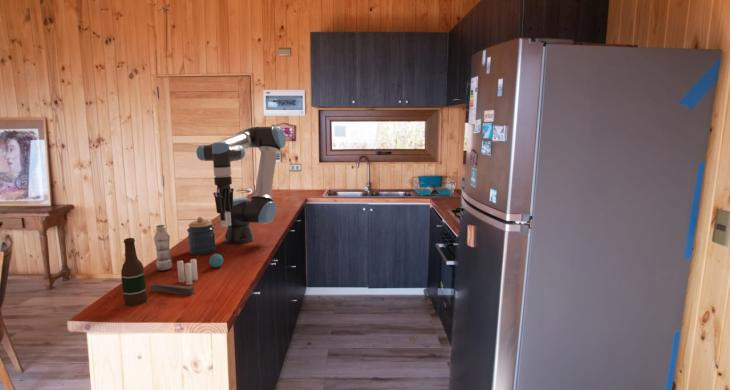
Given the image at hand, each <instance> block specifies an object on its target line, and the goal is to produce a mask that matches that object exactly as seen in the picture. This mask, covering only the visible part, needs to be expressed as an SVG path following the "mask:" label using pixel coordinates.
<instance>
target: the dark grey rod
mask: <svg viewBox="0 0 730 390" xmlns="http://www.w3.org/2000/svg"><path fill="white" fill-rule="evenodd" d="M150 292H153V293H163V294H164V293H166V294H176V295H184V296H192V295H194V294H195V287H194V286H189V285H178V284H177V285H176V284H165V283H154V282H153V283H151V284H150Z"/></svg>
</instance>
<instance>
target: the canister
mask: <svg viewBox="0 0 730 390" xmlns="http://www.w3.org/2000/svg"><path fill="white" fill-rule="evenodd" d="M196 219H197V220H194V221H191V222H190V223H188V225H187V226H188V228H187V229H186V231H187V234H188V235H187V243H188V252H189V254H191V255H195V256H196V255H207V254H211V253H213V252H215V251H216V248H217V246H216V235H215V234H216V233H215V231H214V229H215V226H214V225H213V222H212V221H210V220H208V219H203V217H200V216H199V217H197V218H196Z"/></svg>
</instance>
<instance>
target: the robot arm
mask: <svg viewBox="0 0 730 390" xmlns="http://www.w3.org/2000/svg"><path fill="white" fill-rule="evenodd" d="M286 143H287V142H286V135H285V132H284V129H282V127H279V126H253V127H249V128H246V129H243V130H241V131H238V132H236V134H235V135H233V136H230V137H227V138H225V139H222V140H219V141H216V142H212V143H210V144H207V145H206V144H202V145H198V147H197V148H196V152H195V153H196V156H197V159H198V160H200V161H202V162H203V161H204V162H213V163H212V164H213V165H212V166H213V175H214V178H213V180H214V185H215V186H217V187H216V192H213V193H212V194H213V197H214V201H215V208H216V213H217V214H219V216H220V225H221V227H220V228H226V231H225V236H224V242H225V243H227V244H228V245H229V244H232V245H239V244H240V245H241V244H246V243H250V242H252V241H254V238H255V237H254V233H253V231H252V229H251V226H250V223H253V224H270V223H271V222H272V221H273V220H274V218H275V217H276V215H277V214H276V213H277V204H276V203H275V202H274V198H273V197H272V192H273V184H274V177H275V170H276V163H277V162H276V161H277V157H278V156H277V155H278V154H279V153H281V149H283V148H285V146H286ZM248 148H256V149H257V148H258V150H259V151H260V156H259V162H258V163H259V164H258V169H257V175H256V177H257V178H256V185H255V188H254V189H255V191H254V194H253V195H251V197H250V200H249V198H248V197H237V198H234V188H232V187H231V185H232V183H233V181H232V168H231V162H236V161H241V160H243V159H244V158H245V155H246V152H245V149H248Z"/></svg>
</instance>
